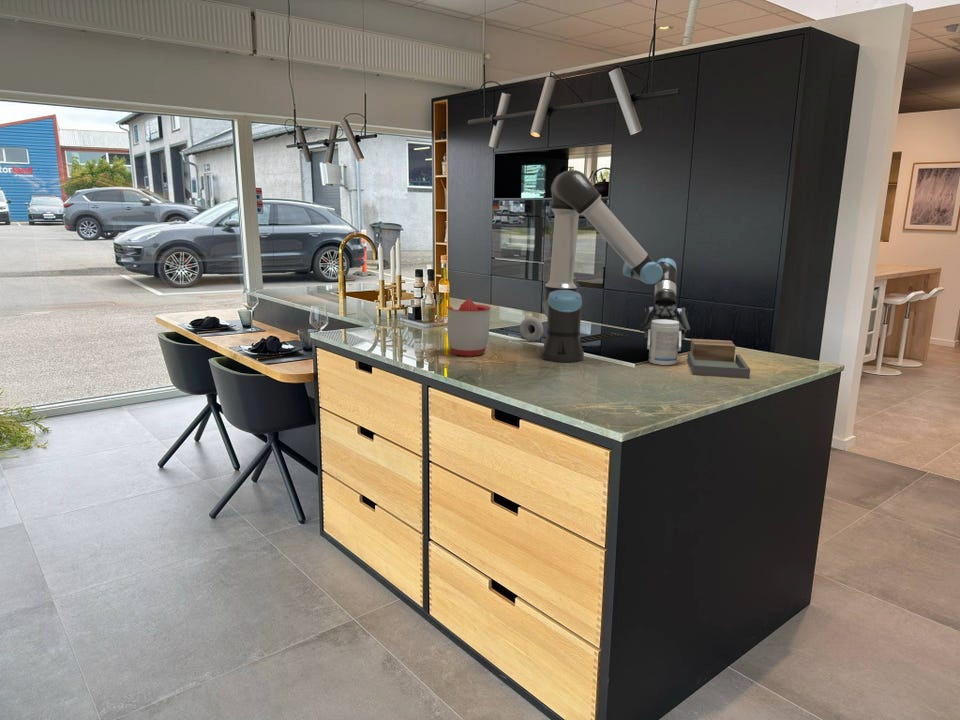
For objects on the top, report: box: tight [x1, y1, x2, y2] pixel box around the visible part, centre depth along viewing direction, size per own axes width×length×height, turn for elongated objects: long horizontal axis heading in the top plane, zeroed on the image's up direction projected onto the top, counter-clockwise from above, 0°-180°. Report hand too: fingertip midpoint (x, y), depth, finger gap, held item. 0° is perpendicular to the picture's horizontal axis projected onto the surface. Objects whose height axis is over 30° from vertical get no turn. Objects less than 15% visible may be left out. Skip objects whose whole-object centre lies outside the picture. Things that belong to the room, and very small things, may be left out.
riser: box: [689, 338, 736, 362], centre depth 243 cm, size 10×14×6 cm
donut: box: [519, 316, 544, 342], centre depth 268 cm, size 10×4×10 cm, turn 61°
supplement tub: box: [648, 318, 680, 366], centre depth 234 cm, size 10×10×15 cm
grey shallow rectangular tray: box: [686, 351, 751, 379], centre depth 229 cm, size 22×17×3 cm
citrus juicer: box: [446, 298, 491, 357], centre depth 244 cm, size 16×17×20 cm
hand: (664, 348), depth 232 cm, fingers closed on supplement tub, 9 cm apart
